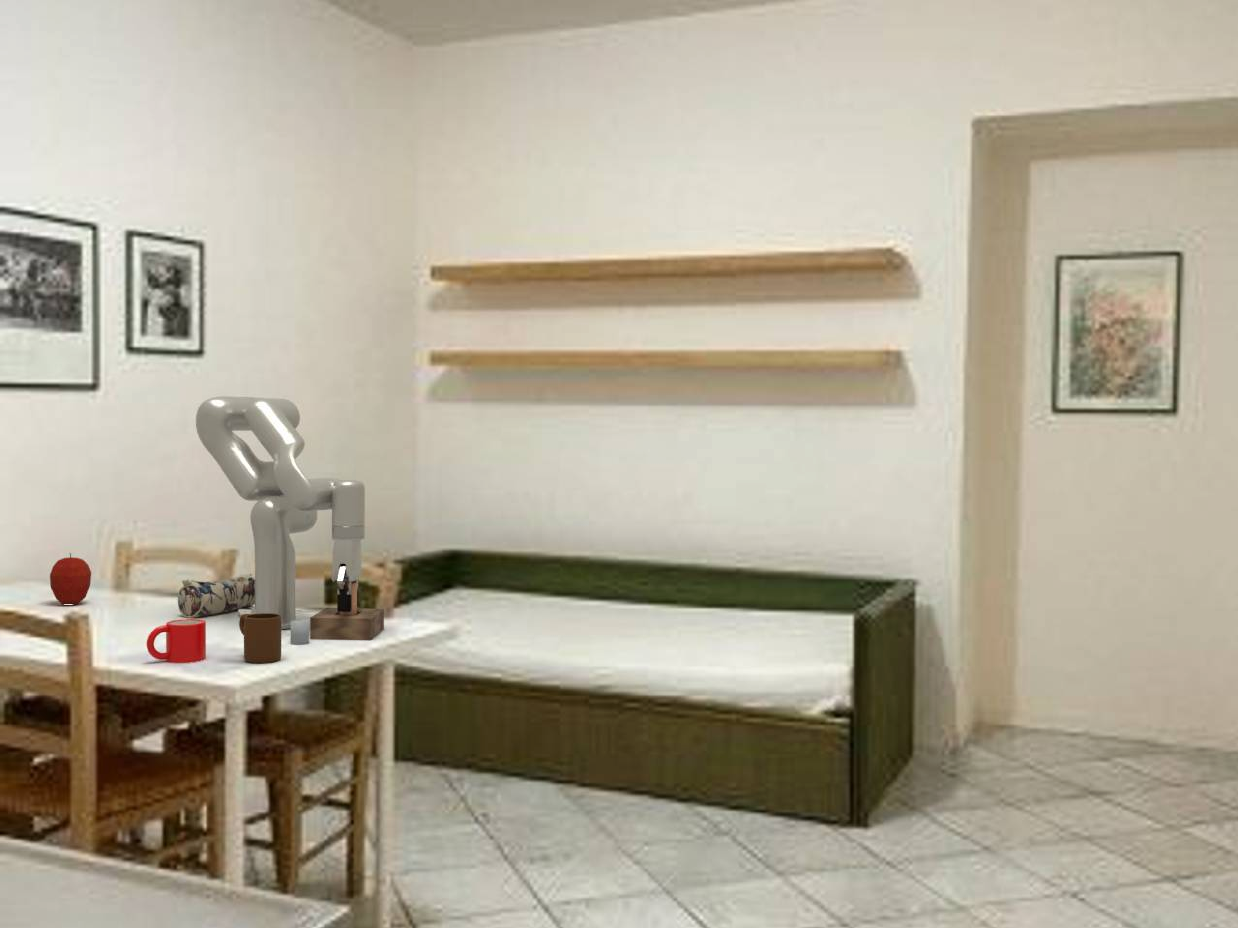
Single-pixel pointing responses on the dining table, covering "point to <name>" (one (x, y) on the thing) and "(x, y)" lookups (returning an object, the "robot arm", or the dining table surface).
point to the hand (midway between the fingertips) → (348, 608)
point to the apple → (70, 580)
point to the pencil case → (216, 596)
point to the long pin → (354, 600)
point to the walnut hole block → (347, 624)
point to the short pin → (299, 632)
